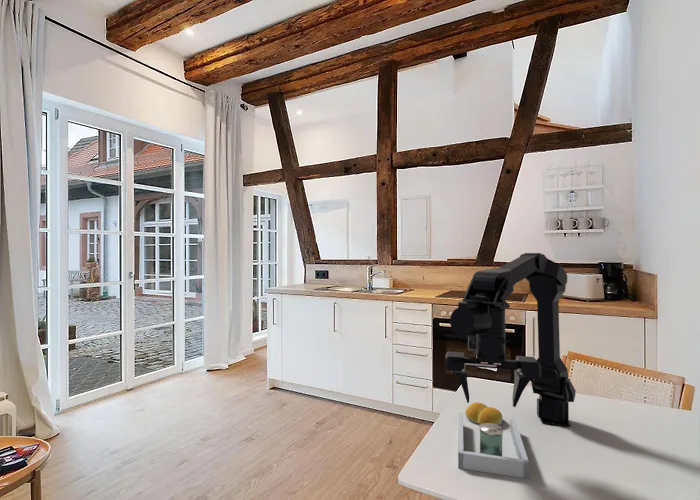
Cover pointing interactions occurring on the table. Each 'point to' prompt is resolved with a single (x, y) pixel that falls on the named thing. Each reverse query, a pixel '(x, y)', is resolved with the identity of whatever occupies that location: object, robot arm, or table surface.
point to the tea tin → (491, 439)
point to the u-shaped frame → (495, 462)
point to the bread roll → (483, 414)
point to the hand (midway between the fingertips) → (490, 404)
